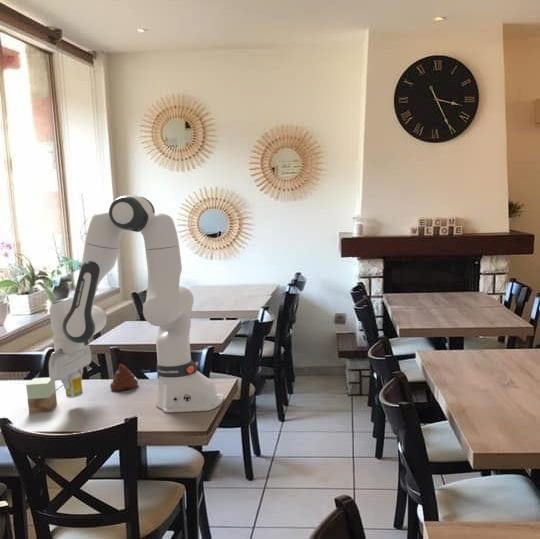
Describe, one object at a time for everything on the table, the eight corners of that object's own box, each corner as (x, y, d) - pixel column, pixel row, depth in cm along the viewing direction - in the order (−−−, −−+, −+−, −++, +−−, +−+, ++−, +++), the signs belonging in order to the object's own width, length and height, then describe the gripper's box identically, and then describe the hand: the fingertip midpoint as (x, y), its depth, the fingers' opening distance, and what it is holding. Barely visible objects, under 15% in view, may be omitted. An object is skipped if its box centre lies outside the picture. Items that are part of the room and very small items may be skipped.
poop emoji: (112, 393, 210) (110, 368, 209) (109, 387, 217) (106, 363, 216) (140, 388, 214) (137, 364, 212) (135, 382, 221) (133, 358, 220)
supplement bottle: (64, 399, 195) (61, 371, 194) (68, 394, 200) (65, 367, 199) (81, 397, 195) (77, 369, 194) (84, 392, 201) (80, 365, 199)
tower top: (55, 390, 201) (54, 376, 200) (48, 397, 194) (47, 383, 193) (35, 392, 201) (33, 378, 200) (27, 399, 194) (26, 384, 193)
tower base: (57, 404, 202) (55, 390, 201) (50, 412, 195) (48, 397, 194) (37, 406, 201) (35, 392, 201) (29, 413, 194) (27, 399, 194)
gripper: (58, 353, 185) (64, 395, 186) (92, 337, 205) (97, 375, 206) (41, 354, 186) (47, 395, 188) (76, 338, 206) (81, 375, 208)
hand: (73, 385), depth 197 cm, fingers closed on supplement bottle, 5 cm apart
